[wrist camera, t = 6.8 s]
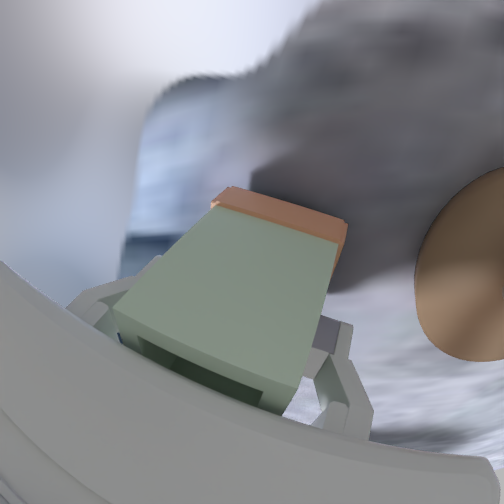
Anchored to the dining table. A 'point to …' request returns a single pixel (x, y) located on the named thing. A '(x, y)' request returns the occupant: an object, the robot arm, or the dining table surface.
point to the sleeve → (237, 298)
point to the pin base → (465, 273)
